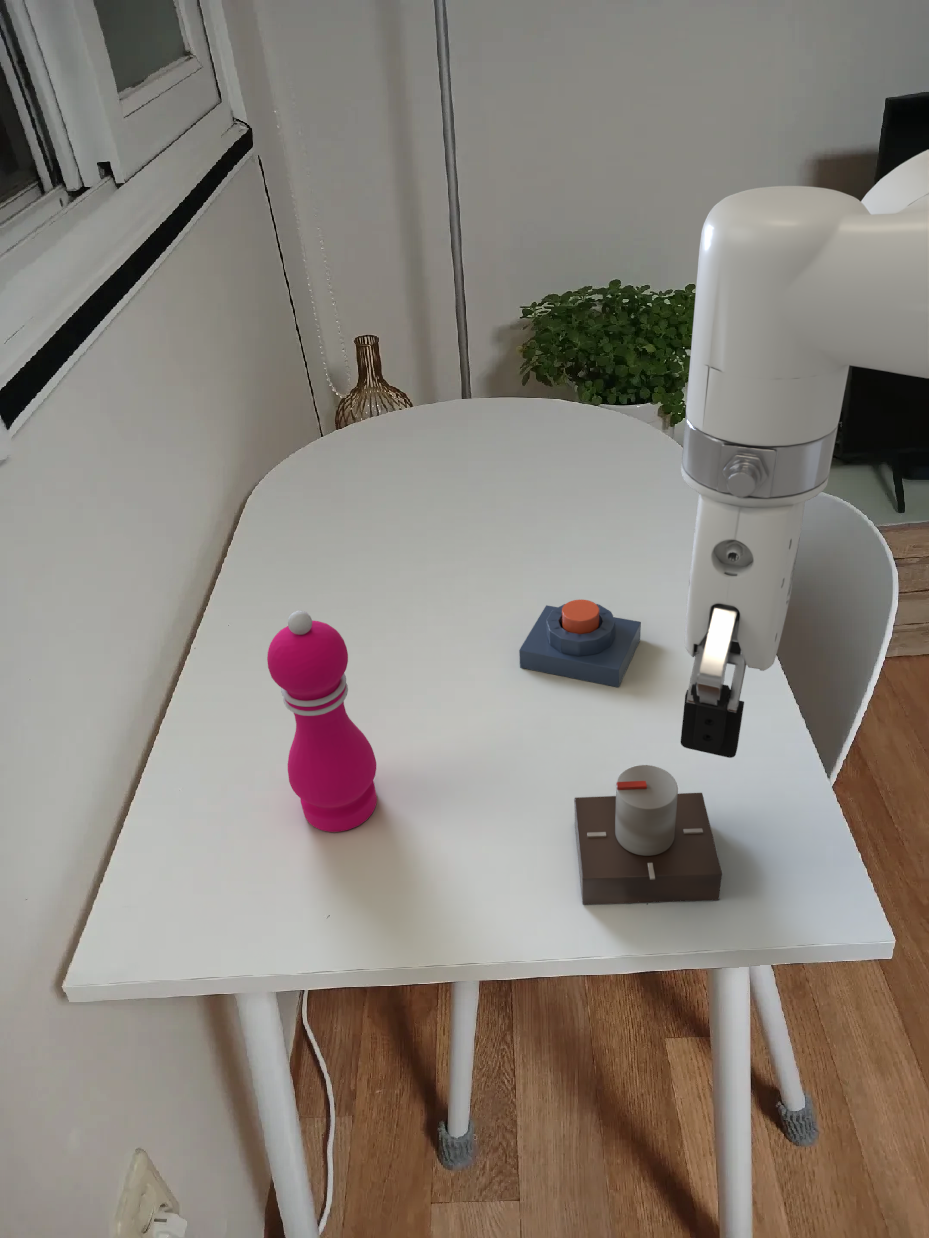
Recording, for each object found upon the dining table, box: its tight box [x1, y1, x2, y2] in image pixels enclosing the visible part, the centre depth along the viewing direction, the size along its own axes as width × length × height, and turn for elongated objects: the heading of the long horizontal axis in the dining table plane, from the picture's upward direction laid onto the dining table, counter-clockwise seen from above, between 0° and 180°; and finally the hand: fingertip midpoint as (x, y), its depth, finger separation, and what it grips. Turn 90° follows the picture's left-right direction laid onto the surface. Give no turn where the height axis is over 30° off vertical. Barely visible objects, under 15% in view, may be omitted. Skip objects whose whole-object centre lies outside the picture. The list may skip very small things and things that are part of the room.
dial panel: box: [573, 792, 723, 906], centre depth 73 cm, size 10×9×3 cm
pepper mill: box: [266, 610, 378, 833], centre depth 75 cm, size 7×7×20 cm
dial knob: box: [615, 764, 679, 856], centre depth 70 cm, size 4×4×5 cm
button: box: [562, 599, 599, 634], centre depth 92 cm, size 4×4×2 cm
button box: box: [518, 603, 642, 688], centre depth 94 cm, size 10×8×4 cm
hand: (723, 698), depth 60 cm, fingers open, 9 cm apart
